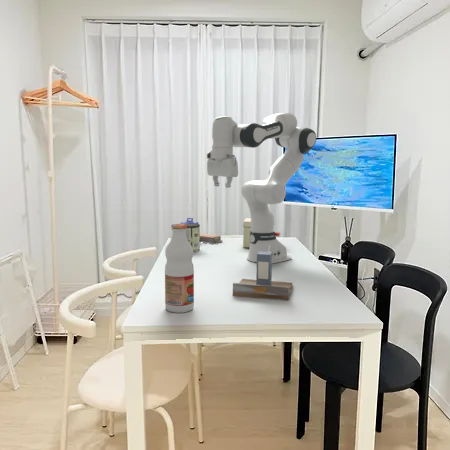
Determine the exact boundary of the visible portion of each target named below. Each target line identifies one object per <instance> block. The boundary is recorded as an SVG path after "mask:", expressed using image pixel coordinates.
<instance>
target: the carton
mask: <svg viewBox="0 0 450 450" xmlns="http://www.w3.org/2000/svg"><path fill="white" fill-rule="evenodd" d="M272 268H273V263H272V252H263V251H259V252H258V253H257V262H256V277H255V280H256V285H270V286H271V281H272V275H273V274H272V273H273V272H272Z"/></svg>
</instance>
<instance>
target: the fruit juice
mask: <svg viewBox="0 0 450 450" xmlns="http://www.w3.org/2000/svg"><path fill="white" fill-rule="evenodd" d="M170 228H171V231H172V235H171V238H170V241H169V242H168V244H167V245H166V247H165V250H164V254H165V258H166V262H165V264H164V265H165V266H164V304H165V305H164V306H165V310H166V311H168V312H170V313H175V314H176V313H177V314H181V313H187V312H191V311H192V310H193V309H194V305H195V290H194V289H195V286H194V285H195V278H194V277H195V276H194V275H195V268H194V264H193V257H194V252H193V248H192V246H191V245H190V243H189V242H188V240H187V237H186V230H187V225H186V224H180V223H174V224H171V227H170Z"/></svg>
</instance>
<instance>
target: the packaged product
mask: <svg viewBox="0 0 450 450" xmlns="http://www.w3.org/2000/svg"><path fill="white" fill-rule="evenodd" d="M201 242H203V243H202V244H207V243H209V244H208V245H216V244H215V243H217V244H221V243H224V242H223V240H222V236H221V235H217V234H211V233H203V232H200V243H201ZM220 242H221V243H220Z"/></svg>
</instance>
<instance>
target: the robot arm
mask: <svg viewBox="0 0 450 450" xmlns="http://www.w3.org/2000/svg"><path fill="white" fill-rule="evenodd" d="M211 133H212V135H211V138H212V146H211V151H209V152H208V153H206V159H207V161H206V162H207V163H206V170H207V174H208V176H209V177H210V176H211V177H212V180H213V184H214V185H213V186H214V187H219V186H220V182H219V177H223V178H224V177H225V178H226V182H225V184H224V185H225V188H226V189H227V188H229V189H231V187H232V182H233V178H237V177H238V176H239V165H238V159H237V157H236V156H235V154H234V148H258V147H259V146H260V145H262V143H263V142H264V141H267V140H268V139H275V140H274V141H275V143H276V144H277V146H279V147H281V148H286V149H285V151H284V153H282V154H281V155H280V156H279V157H278V158H277V159H276V160H275V161H274V163H273V164H272V165H271V166H270V167H269V168H268V177H267V178H266V179H264V180H261V179H260V180H259V179H252V180H249V181H246V182H245V183H244V184H243V185H242V187H241V196H242V197H243V198H244V200H245V201H246V203H247V206H248V210H249V214H250V219H251V231H250V248H249V249H248V254H247V258H246V260H247V261H249V262H253V263H257V253H258V252H259V251H263V252H272V264H276V263H281V262H284V261H285V262H286V261H289V260H292V256H291V255H288V252H287V247H286V246H285V244H283V243H282V242H281V241H279V239H277V237H280V236H281V232H278V231H276V232H275V231H274V227H275V226H274V225H275V223H274V221H275V219H274V214H273V213H272V212H271V211H270V209H269V205H276V204H277V205H278V204H281V203H282V202H283V201H284V200H285V198H286V196H287V195H286V194H287V191H286V185H287V183H288V182H289V181H290V180H291V178H292V177H293V176H294V175H295V174H296V173H297V171H298V170H299V169H300V167H301V165H302V164H303V161H304V155H305V154H308V153H309V152H310V151H311V150H312V149H313V148H314V146H315V144H316V142H317V134H316V132H315V130H313V129H312V128H308V127H303V126H298V119H297V117H296V116H295V115H294V114H293V113H291V112H290V113H289V112H280V113H279V112H277V113H275V114H271V115H268V116H266V117H265V118H264V119H263V121H262V123H261V124H258V123H256V122H253V123H245V124H239V123H237V122H235V121H234V120H233V117H232V116H231V115H224V116H218V117H214V120H213V123H212V130H211Z"/></svg>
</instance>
